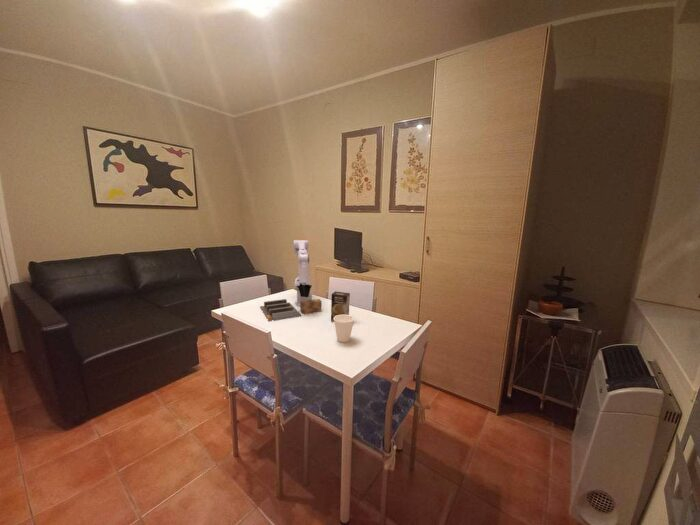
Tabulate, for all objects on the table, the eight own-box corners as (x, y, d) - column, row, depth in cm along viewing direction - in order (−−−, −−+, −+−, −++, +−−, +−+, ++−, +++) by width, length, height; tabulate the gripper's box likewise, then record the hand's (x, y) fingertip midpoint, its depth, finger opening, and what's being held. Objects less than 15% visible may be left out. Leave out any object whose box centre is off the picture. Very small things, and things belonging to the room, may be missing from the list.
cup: (342, 333, 141) (342, 312, 139) (357, 339, 135) (358, 318, 133) (328, 340, 133) (329, 318, 131) (344, 346, 127) (345, 324, 125)
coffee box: (330, 321, 155) (330, 293, 152) (334, 317, 161) (334, 290, 159) (346, 323, 153) (346, 295, 150) (349, 319, 159) (350, 292, 156)
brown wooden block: (319, 309, 174) (319, 298, 173) (321, 311, 171) (321, 300, 169) (300, 312, 169) (300, 301, 168) (302, 314, 165) (302, 303, 164)
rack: (289, 303, 184) (289, 298, 183) (301, 316, 162) (301, 310, 162) (259, 307, 175) (259, 302, 174) (268, 321, 153) (268, 315, 153)
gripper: (294, 274, 171) (294, 296, 170) (301, 273, 158) (301, 297, 157) (305, 274, 174) (305, 296, 173) (312, 273, 161) (313, 297, 160)
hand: (304, 297), depth 165 cm, fingers open, 7 cm apart
